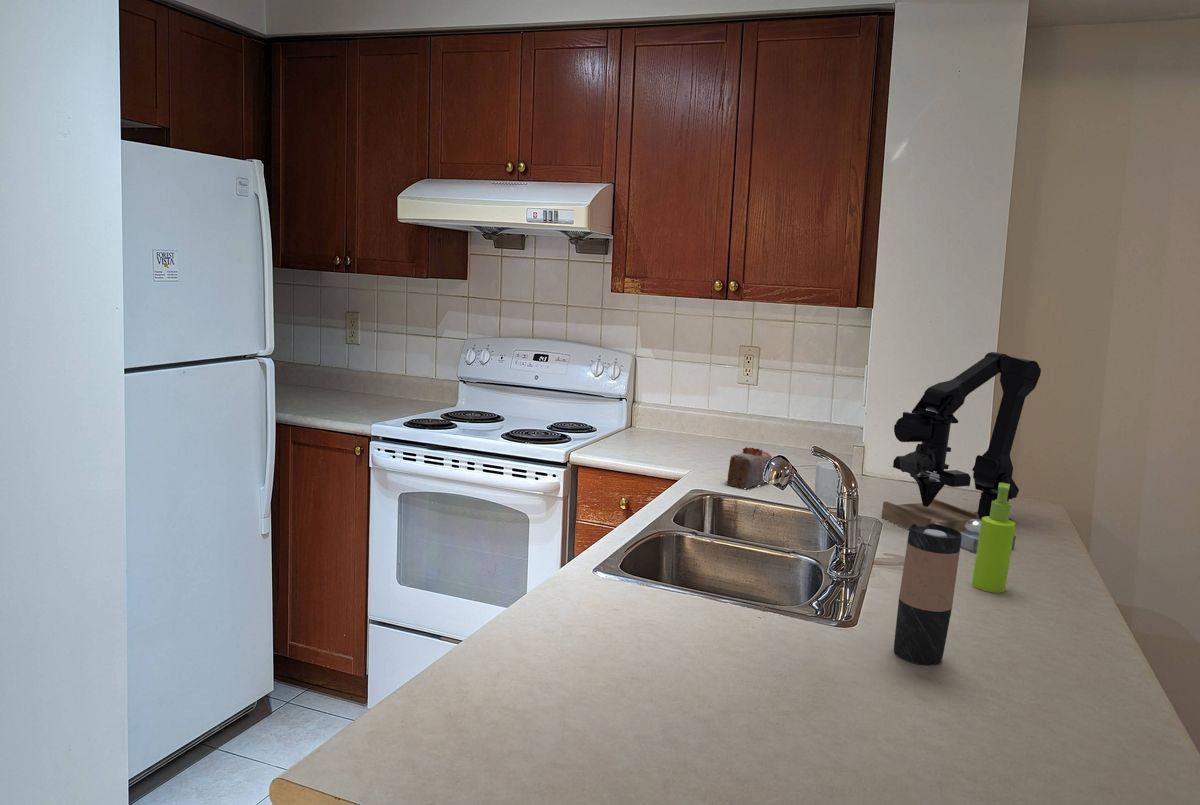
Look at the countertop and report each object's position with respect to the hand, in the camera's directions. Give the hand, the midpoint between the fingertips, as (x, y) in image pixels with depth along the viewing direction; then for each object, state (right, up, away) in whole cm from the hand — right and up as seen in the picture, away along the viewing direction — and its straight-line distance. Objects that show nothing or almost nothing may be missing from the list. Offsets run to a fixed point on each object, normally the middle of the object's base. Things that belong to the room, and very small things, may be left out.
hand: (925, 506), depth 216 cm
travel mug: (-28, -15, -75) cm, 81 cm away
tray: (+6, -7, -12) cm, 15 cm away
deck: (0, -4, -1) cm, 4 cm away
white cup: (-20, -1, +10) cm, 23 cm away
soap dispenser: (-2, -11, -40) cm, 42 cm away
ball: (+6, -4, -13) cm, 15 cm away
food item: (-37, +3, +25) cm, 45 cm away
